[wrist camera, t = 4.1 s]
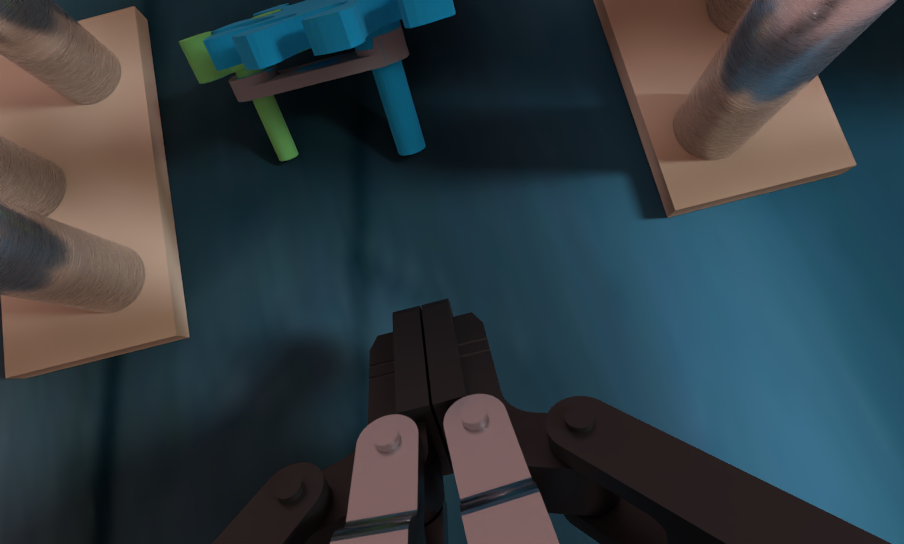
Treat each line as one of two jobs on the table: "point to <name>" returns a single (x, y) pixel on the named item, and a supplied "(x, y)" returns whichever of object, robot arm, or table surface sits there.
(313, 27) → the gear
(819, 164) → the rack
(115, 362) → the table surface
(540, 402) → the table surface
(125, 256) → the spacers
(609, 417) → the robot arm
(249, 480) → the table surface
